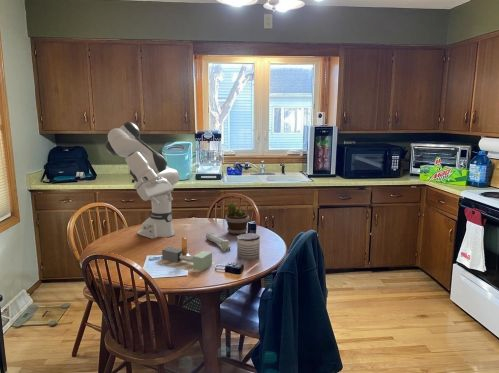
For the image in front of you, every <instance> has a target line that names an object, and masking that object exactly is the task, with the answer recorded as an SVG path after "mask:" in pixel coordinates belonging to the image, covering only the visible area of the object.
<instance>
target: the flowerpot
mask: <svg viewBox="0 0 499 373" xmlns="http://www.w3.org/2000/svg"><path fill="white" fill-rule="evenodd" d="M226 208H227V214H226V215H225V217H224V218H225V222H226V225H227V232H228V233H229V234H230V235H234V236H239V235H241V234H246V232H247V231H248V227H247V226H248V222H249V220H250V216H249V214H248V213H247V212H246V211H244V209H243V208H242V207H239V208H237V206H236V203H234V201H231V202H229V204H228V205H227V206H226Z"/></svg>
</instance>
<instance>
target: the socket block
mask: <svg viewBox="0 0 499 373" xmlns="http://www.w3.org/2000/svg"><path fill="white" fill-rule="evenodd" d="M192 256H193V268H194V269H198V270H202V271H204V270H206V269H207V267H208V268H209V267H211V266H212V265H213V264H212V262H213V252H210V251H206V250H202V251H200V252H198V253H196V254H194V255H192ZM202 271H201V272H202Z"/></svg>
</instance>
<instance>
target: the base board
mask: <svg viewBox="0 0 499 373" xmlns="http://www.w3.org/2000/svg"><path fill="white" fill-rule="evenodd" d="M155 263H156V264H160V265H164V266H168V267H172V268H177V269H181V270H184V271H188V272H193V273H197V274H199V273H201V272H202V270H198V269H194V268H193V262H189V261H184V260H182V261H180V262H178V263H175V262H171V261H167V260H163V259H159V260H158V261H156V262H155ZM214 264H216V261H212V265H214ZM207 268H209V267H207ZM207 268H206V269H207Z"/></svg>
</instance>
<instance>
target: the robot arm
mask: <svg viewBox="0 0 499 373" xmlns="http://www.w3.org/2000/svg"><path fill="white" fill-rule="evenodd" d="M104 147H105V149H106V151H107V152H108V154H111V155H113V156H119V157H122V158H125V163H126V164H127V166H128V168H129V175H131V177H132V178H133V179H134V182H135V184H134V185H133V188H134V189H135V190H136V192H137V194H138V196H139V197H140V198H141V199H142V200H143V201H144V202H146V201H149V200H150V202H151V211H150V212H148V215H149V217H148V218H147V219H146V220H145V221H143V222H142V224H141V229H140V230H138V231H137V232H136V233H137V235H140V236H143V237H145V238H149V239H152V240H154V239H156V238H159V237H160V238H161V237H162V238H170V237H172V236H174V235H175V234H176V233H175V229H174V226H173V211H172V201H173V200H174V198H173V197H172V192H173V191H174V186H175V185H177V184H178V183H179V181H180V174H179V172H178V170H176V169H175V168H172V167H169V166H168V162H167V160H166V158H165V157H164V155H162V154H161V153H159V152H157V151H155V150H154V149H153V148H152V147H150V146H149V145H148V144H147V143H145V142H144V141H143V140H141V131H140V129H139V127H138V125H136V124H135V123H134V122H131V121H126V122H124V123H123V125H121V126H120V127H119V128H118V127H117V128H115V127H114V128H112V129H111V130H110V131H109V132H108V134H107V140H106V141H105V144H104Z"/></svg>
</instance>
